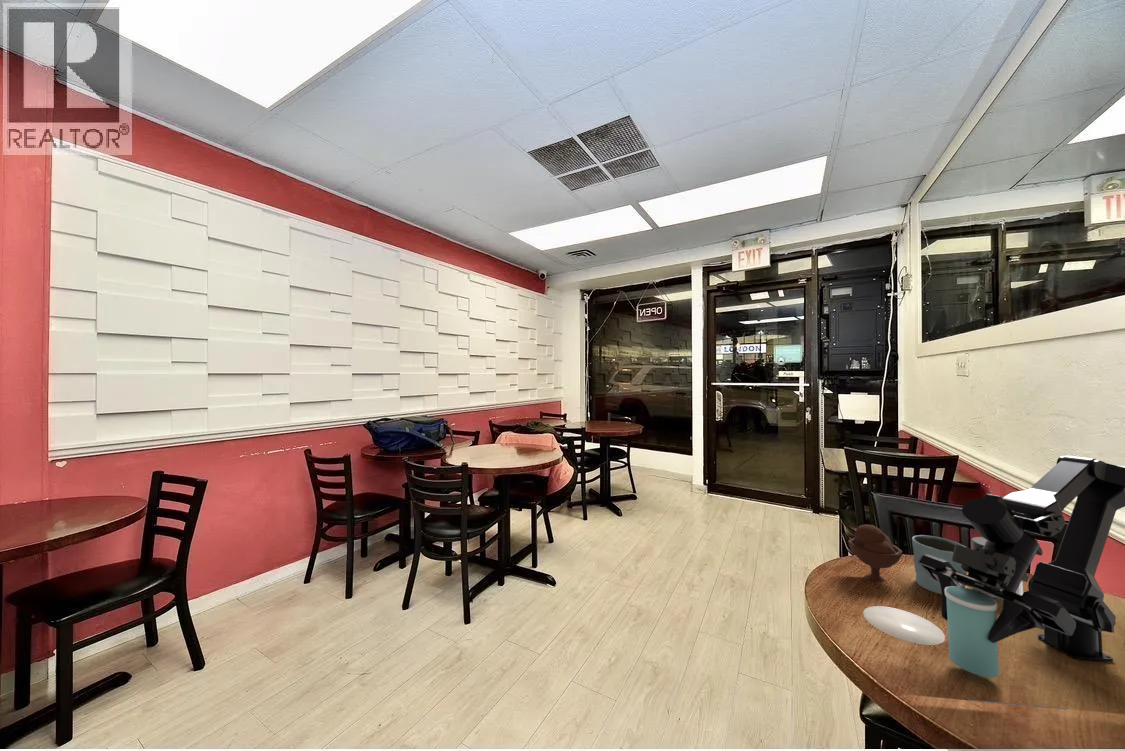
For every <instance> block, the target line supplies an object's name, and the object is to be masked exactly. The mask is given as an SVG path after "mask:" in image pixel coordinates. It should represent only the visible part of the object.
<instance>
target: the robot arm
mask: <svg viewBox="0 0 1125 751" xmlns="http://www.w3.org/2000/svg"><path fill="white" fill-rule="evenodd" d="M1075 499H1076V501H1075V502H1074V506H1073V509H1072V511H1071V515H1070V518H1069V520H1068V523H1067V526H1066V528H1065V531H1064V534H1063V537H1062V539H1061V543H1060V545H1059V548H1058V550H1057V553H1056V556H1055V558H1054V560H1052V561H1051V562H1048V563H1046V562H1043V561H1039V562H1038V563H1037V564H1036V566H1035V569H1034V573H1033V575H1032V577H1029V576H1028V575H1027V571H1028V569H1029V567H1030V566H1031V564H1032V561H1033V560H1034V559H1035V558H1034V557H1035V556H1036V555H1038V556H1043V549H1042V548H1041V545H1040V544H1039V542H1038V540H1037V539H1036V538H1034V537H1033V535H1032V534H1036V535H1039V536H1043V537H1049V538H1051V537H1054V536H1056V535H1057V534H1058V533H1060V532H1062V530H1063V529H1064V527H1065V524H1066V520H1065V517H1064V515H1063V511H1064V509H1066V507H1067V506H1068V505H1070V504H1071V503H1072V502H1073V501H1074V500H1075ZM1122 508H1125V465H1117V464H1112V463H1107V462H1105V461H1103V460H1098V459H1096V458H1092V457H1082V456H1077V455H1076V456H1075V455H1060V456H1058V458H1057V460H1056V464H1055V465H1054V466H1052V468H1051V469H1049V470H1048V472H1046V473H1045V474H1044V475H1043V476H1042V477H1041V478H1039V479H1038V481H1036V482H1035V483H1034V484H1033V485H1032V486H1030V488H1028V489H1026V490H1019V491H1012V492H1010V493H1009V494H1007V495H1005V496H1000V495H995V494H991V493H986V494H985V495H984V497H980V498H973V499H971V500H969V501H967V502H965V503H964V504H963V505H962V508H961V512H962V514H963V516H964V517H965V519H966V520H968V522H969V524H971V526H972V527H973V528H974V529H975V530H976V531H977V533H978V534H979V535H980V537H983V538H985V539H987V541H986V543H985V545H984V547H983V548H979V547H977V548H975V550H973V549H972V548H969V547H967V546H965V545H964V546H965V547H964V546H961V545H957V544H955V548H954V552H953V556H952V561H953V562H957V563H961V564H962V566H961V568H962V569H963V570H964V571H967V573H968V574H963V573H960V572H958V571H956V570H955V569H954V568H953V566H952V565H951V564H950V563H949V562H948V561H946V560H943V559H940V558H937V557H935V556H932V555H929V554H926V555H922V556H921V557H920V559H919V561H918V562H917V563H918V564H919V565H920V566H921V567H922V569H923V570H924V571H925V572H926V573H927V574H928V575H929V576H930V577H931V578H932V579H934V580H935V581H937V582H940V585H941V591H942V594H941V617H942V619H943V620H945V621H948V620H947V599H946V596H945V588H946V587H949V586H956V587H961V586H962V584H963V585H965V587H967V588H968V587H969V588H970V589H972V590H975V591H978V592H981V593H984V594H985V593H986V595H987V594H988V596H989V595H991V596H993V597H996V598H995V599H999V600H1001V601H1002V610H1001V612H1000V614H999V616H998V617H997V618H996V622H995V624H994V625H993V627H992V629H991V630H990V633H989V636H988V640H989V641H990V642H992V643H995V642H1000V641H1002V640H1004V639H1007V638H1009V637H1011V636H1013V635H1016V634H1019V633H1021V632H1022V633H1023V632H1025V631H1029V630H1032V629H1039V630H1043V633H1037V637H1038V638H1039V639H1040V640H1042V641H1044V642H1045V643H1048V644H1049V645H1051V646H1052V647H1054V648H1056V649H1057V650H1059V651H1060V652H1061V653H1064V654H1066V655H1067V656H1068V657H1070V658H1072V659H1076V660H1087V661H1102V662H1114V658H1113V657H1111V656H1110V655H1108V654H1107V653H1105V652H1103V636H1102V632H1107V633H1114V632H1115V626H1116V624H1117V623H1116V618H1117V617H1116V615H1115V614H1114V613H1113V611H1112V610H1111V608H1110V607H1109V606H1108V605H1107V604H1106V603H1105V601H1104V599H1105V593H1104V591H1103V590H1102V587H1101V586H1100V585H1099V583H1098V581H1097V579H1096V578H1095V576H1096V572H1097V569H1098V566H1099V564H1100V559H1101V557H1102V554H1103V552H1104V548H1105V545H1106V542H1107V541H1108V540H1107V539H1108V536H1109V533H1110V531H1111V527H1112V524H1113V521H1114V519H1115V515H1116V513H1117V511H1118V510H1120V509H1122ZM1030 533H1032V534H1030ZM1021 581H1023V582H1024V583H1028V584H1027V588H1028V590H1026V591H1023V595H1019V594H1017V593H1016V591H1017V589H1018V587H1019V585H1020V583H1021ZM991 596H990V597H991ZM993 597H992V598H993Z"/></svg>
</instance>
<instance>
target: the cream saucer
mask: <svg viewBox="0 0 1125 751" xmlns="http://www.w3.org/2000/svg"><path fill="white" fill-rule="evenodd" d="M862 614H863V616H864V619H865V620H866V621H867V622H868V623H869V624H870V625H871V626H872V627H874V628H876V629H877V630H879V631H881V632H883V633H885V634H886V635H889V636H891V637H894V638H896V639H899V640H901V641H905V642H908V643H911V644H918V645H924V646H925V645H926V646H935V645H940V644H942V643H944V642H945V640H946V636H945V634H944V632H943V631H942V630H941V629H940V628H939V627H938V626H937V625H935V624H934V622H931V621H929V620H927V619H926V618H925V617H924V618H923V617H922V616H920V615H917V614H915V613H912V612H909V611H907V610H903V609H899V608H897V607H896V608H895V607H889V606H883V605H876V606H875V605H873V606H869V607H866V608H865V609H864V610H863V613H862Z"/></svg>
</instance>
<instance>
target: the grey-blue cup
mask: <svg viewBox="0 0 1125 751" xmlns="http://www.w3.org/2000/svg"><path fill="white" fill-rule="evenodd" d="M911 541H912V542H911V543H912V549H913V565H914V570H915V573H916V575H915V582H916V584H917V585H918V586H920V587H922V588H924V589H926V590H927V591H930V592H932V593H936V594H939V595H942V591H941V585H940V582H937V581H935V580H934V579H932V578H931V577H930V576H929V575H928V574H927V573H926V572H925V571H924V570H923V569H922V567H921V566H920V565H919V564H918V563H917V562H918V561H919V559H920V557H921V556H922V555H926V554H929V555H932V556H935V557H937V558H940V559H943V560H946V561H948V562H949V563H950V564H951V565H952V566H953V568H954V569H955V570H956V571H958V572H960V573H963V574H966V575H968V574H967V573H968V572H967V571H964V570H963V569H962V568H961V566H962V564H961V563H957V562H953V561H952V556H953V552H954V548H955V544H957V545H961V546H964V547H966V545H963V544H961V543H959V542H957V541H954V540H951V539H948V538H944V537H940V536H933V535H925V534H919V535H917V534H916V535H913V536H912V537H911ZM961 587H963V588H966V585H963V584H962V586H961Z"/></svg>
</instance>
